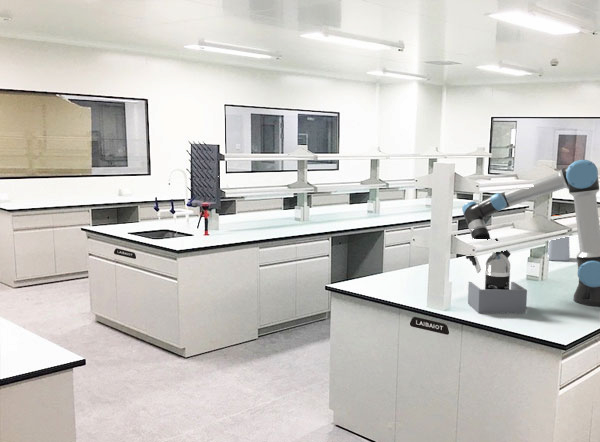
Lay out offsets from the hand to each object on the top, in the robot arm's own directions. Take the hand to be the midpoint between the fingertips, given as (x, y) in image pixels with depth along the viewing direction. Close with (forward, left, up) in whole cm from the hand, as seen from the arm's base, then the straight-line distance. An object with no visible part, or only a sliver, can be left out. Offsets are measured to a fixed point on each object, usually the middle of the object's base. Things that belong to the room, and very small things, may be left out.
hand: (493, 270), depth 244 cm
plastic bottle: (-78, -115, -17) cm, 140 cm away
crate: (-1, +2, -16) cm, 16 cm away
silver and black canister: (-1, +2, -17) cm, 17 cm away
